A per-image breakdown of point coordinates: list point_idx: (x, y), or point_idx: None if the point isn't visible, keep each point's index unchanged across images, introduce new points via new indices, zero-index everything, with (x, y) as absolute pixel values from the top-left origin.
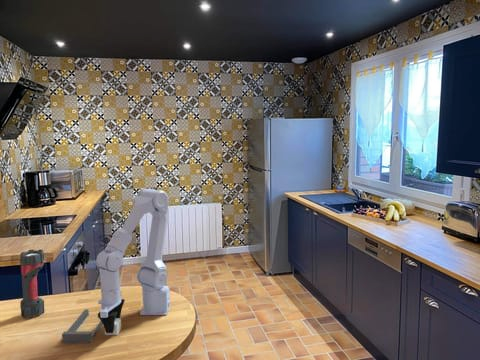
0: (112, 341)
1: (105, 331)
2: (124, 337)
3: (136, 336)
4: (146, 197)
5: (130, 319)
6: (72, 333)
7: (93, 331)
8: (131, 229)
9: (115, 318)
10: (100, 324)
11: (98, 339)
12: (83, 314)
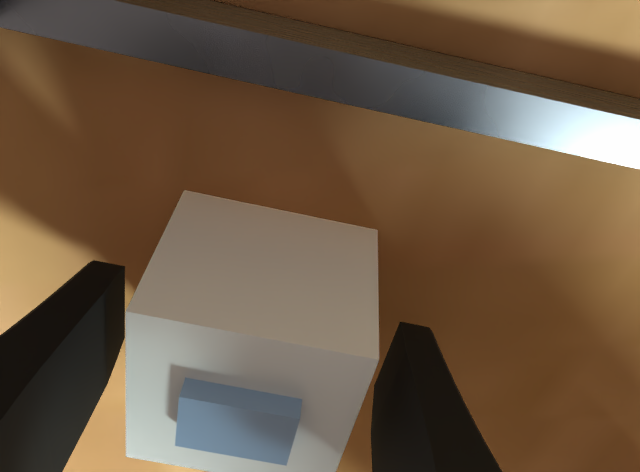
0: (19, 285)
1: (166, 236)
2: (112, 385)
3: (130, 463)
4: None
5: (526, 434)
6: None
7: (201, 30)
8: None
9: (337, 444)
10: (464, 129)
11: (55, 113)
12: None
